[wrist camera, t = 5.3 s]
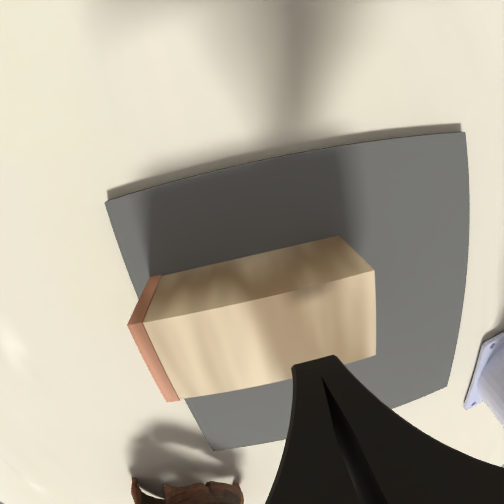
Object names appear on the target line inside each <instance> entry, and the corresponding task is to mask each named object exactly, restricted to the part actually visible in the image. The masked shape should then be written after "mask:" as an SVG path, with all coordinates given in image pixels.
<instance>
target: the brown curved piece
mask: <svg viewBox="0 0 504 504" xmlns="http://www.w3.org/2000/svg"><path fill="white" fill-rule="evenodd" d="M163 488H164V491H165V498H166V499H157V498H154V497H151V496H148V495H146V494H144V493H143V492H142V491H141V489H140V488H139V486H138V484H137V479H136V478H132V487H131V494H132V497H133V499H134V502H135V504H244V498H243V494H242V491H241V489H240V486H238V484H233V485H230V484H226V483H219V482H214V481H210V482H207V483H206V485H204V484H203V483H197V484H192V485H189V486H186V487H180V488H175V487H172V486H170V485H163Z"/></svg>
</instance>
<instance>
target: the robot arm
mask: <svg viewBox="0 0 504 504" xmlns="http://www.w3.org/2000/svg"><path fill="white" fill-rule="evenodd" d="M291 372H292V378H293V397H292V408H291V416H290V423H289V428H288V433H287V438H286V443H285V447H284V451H283V455H282V459H281V462H280V465H279V468H278V471H277V474H276V477H275V480H274V483H273V485H272V488H271V491H270V493H269V496H268V498H267V500H266V503H265V504H504V468H502V467H499V466H496V465H492V464H489V463H487V462H484V461H481V460H478V459H476V458H473V457H471V456H468V455H466V454H464V453H462V452H460V451H458V450H455V449H453V448H451V447H449V446H447V445H445V444H443V443H441V442H439V441H437V440H436V439H434V438H432V437H430V436H429V435H427V434H425V433H424V432H422V431H421V430H419V429H418V428H416V427H414V426H413V425H411V424H410V423H409V422H407V421H406V420H404V419H403V418H402V417H400V416H399V415H398V414H396V413H395V412H394V411H393V410H391V409H390V408H389V407H387V406H386V405H385V404H384V403H383V402H382V401H380V400H379V399H378V398H377V397H376V396H375V395H374V394H373V393H371V392H370V391H369V390H368V389H367V388H366V387H365V386H364V385H363V384H362V383H361V382H360V381H359V380H358V379H357V378H356V377H355V376H354V375H353V374H352V373H351V372H350V371H349V370H348V369H347V368H346V366H345V365H344V364H343V363H342V362H341V361H340V359H339V358H338V357H337V356H335V355H330V356H326V357H322V358H319V359H315V360H311V361H307V362H303V363H299V364H294V365H293V366H292V367H291ZM482 401H484V402H485V403H486V405H487V406H488V407H489V409H490V410H491V411H492V413H493V414H494V415H495V417H496V418H497V419H498V421H499V422H500V423H501V425H502V426H503V428H504V332H503V333H501V334H499V335H497V336H495V337H493V338H491V339H489V340H487V341H486V342H484V343H483V345H482V347H481V350H480V354H479V358H478V362H477V365H476V369H475V372H474V375H473V379H472V382H471V385H470V388H469V391H468V394H467V397H466V400H465V403H464V406H463V407H464V409H465V410H467V409H469V408H471V407H473V406H475V405H477V404H479V403H481V402H482Z"/></svg>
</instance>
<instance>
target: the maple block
mask: <svg viewBox="0 0 504 504" xmlns="http://www.w3.org/2000/svg"><path fill="white" fill-rule="evenodd" d="M127 326H128V328H129V330H130V332H131V334H132V336H133V339H134V341H135V343H136V345H137V347H138V349H139V351H140V353H141V355H142V357H143V359H144V361H145V363H146V365H147V367H148V369H149V371H150V373H151V375H152V377H153V378H154V380H155V382H156V384H157V386H158V388H159V390H160V391H161V393H162V395H163V397H164V399H165V400H166V402H173V401H180V399H183V398H191V397H198V396H204V395H211V394H217V393H223V392H229V391H234V390H240V389H245V388H250V387H255V386H260V385H265V384H270V383H274V382H279V381H283V380H287V379H292V372H291V367H292V366H293V365H294V364H299V363H303V362H307V361H311V360H315V359H319V358H322V357H326V356H330V355H335V356H337V357H338V358H339V359H340V361H341V362H342V363H343V364H344V365H345V364H348V363H352V362H355V361H358V360H361V359H365V358H368V357H371V356H374V355H376V293H375V270H374V269H373V268H372V267H371V266H370V265H369V264H368V263H367V262H366V261H365V260H364V259H363V258H362V257H361V256H360V255H359V254H358V253H357V252H356V251H355V250H354V249H353V248H352V247H351V246H350V245H349V244H348V243H347V242H346V241H345V240H343V239H342V238H341V237H340V236H339V235H338V236H334V237H330V238H325V239H321V240H317V241H312V242H308V243H303V244H299V245H295V246H290V247H286V248H282V249H277V250H273V251H269V252H264V253H260V254H256V255H251V256H247V257H243V258H238V259H234V260H229V261H225V262H221V263H216V264H212V265H207V266H203V267H199V268H194V269H190V270H186V271H181V272H177V273H172V274H168V275H164V276H162V275H157V276H153V277H149V280H148V282H147V284H146V286H145V288H144V290H143V292H142V294H141V296H140V298H139V301H138V303H137V305H136V307H135V309H134V311H133V314H132V316H131V318H130V320H129V322H128V325H127Z"/></svg>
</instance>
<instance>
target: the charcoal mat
mask: <svg viewBox="0 0 504 504" xmlns="http://www.w3.org/2000/svg"><path fill="white" fill-rule="evenodd" d="M105 206H106V209H107V212H108V215H109V218H110V222H111V225H112V228H113V231H114V234H115V237H116V240H117V243H118V245H119V248H120V251H121V254H122V257H123V260H124V262H125V265H126V268H127V270H128V273H129V276H130V278H131V281H132V284H133V286H134V289H135V291H136V294H137V296H138V299H139V298H140V296H141V294H142V292H143V290H144V288H145V286H146V284H147V282H148V280H149V277H153V276H157V275H162V276H164V275H168V274H172V273H177V272H181V271H186V270H190V269H194V268H199V267H203V266H207V265H212V264H216V263H221V262H225V261H229V260H234V259H238V258H243V257H247V256H251V255H256V254H260V253H264V252H269V251H273V250H277V249H282V248H286V247H290V246H295V245H299V244H303V243H308V242H312V241H317V240H321V239H325V238H330V237H334V236H338V235H339V236H340V237H341V238H342V239H343V240H345V241H346V242H347V243H348V244H349V245H350V246H351V247H352V248H353V249H354V250H355V251H356V252H357V253H358V254H359V255H360V256H361V257H362V258H363V259H364V260H365V261H366V262H367V263H368V264H369V265H370V266H371V267H372V268H373V269H374V270H375V293H376V355H374V356H371V357H368V358H365V359H361V360H358V361H355V362H352V363H348V364H345V366H346V368H347V369H348V370H349V371H350V372H351V373H352V374H353V375H354V376H355V377H356V378H357V379H358V380H359V381H360V382H361V383H362V384H363V385H364V386H365V387H366V388H367V389H368V390H369V391H370V392H371V393H373V394H374V395H375V396H376V397H377V398H378V399H379V400H380V401H382V402H383V403H384V404H385V405H386V406H387V407H389V408H390V409H393V408H395V407H398V406H401V405H403V404H406V403H409V402H411V401H414V400H416V399H419V398H421V397H423V396H426V395H428V394H431V393H433V392H435V391H438V390H440V389H442V388H444V387H446V386H447V384H448V380H449V376H450V372H451V368H452V363H453V359H454V354H455V349H456V344H457V339H458V333H459V328H460V322H461V315H462V308H463V301H464V293H465V284H466V274H467V262H468V247H469V173H468V157H467V145H466V136H465V132H451V133H438V134H428V135H418V136H408V137H399V138H391V139H383V140H375V141H368V142H361V143H354V144H348V145H341V146H335V147H329V148H323V149H317V150H311V151H306V152H300V153H295V154H290V155H285V156H280V157H275V158H270V159H265V160H260V161H255V162H251V163H246V164H242V165H237V166H233V167H229V168H224V169H220V170H216V171H212V172H208V173H204V174H200V175H196V176H192V177H188V178H184V179H180V180H177V181H173V182H169V183H165V184H162V185H158V186H155V187H151V188H148V189H144V190H141V191H137V192H134V193H131V194H127V195H124V196H121V197H118V198H114V199H111V200H108V201H106V202H105ZM292 397H293V378H292V379H287V380H283V381H279V382H274V383H270V384H265V385H260V386H255V387H250V388H245V389H240V390H234V391H229V392H223V393H217V394H211V395H204V396H198V397H191V398H184V399H185V401H186V403H187V405H188V407H189V409H190V411H191V412H192V414H193V416H194V418H195V420H196V422H197V424H198V425H199V427H200V429H201V431H202V433H203V434H204V436H205V438H206V440H207V441H208V443H209V445H210V446H211V448H212V450H213V451H216V450H224V449H231V448H238V447H245V446H251V445H257V444H263V443H268V442H274V441H279V440H284V439H286V438H287V433H288V428H289V423H290V416H291V408H292Z"/></svg>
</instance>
